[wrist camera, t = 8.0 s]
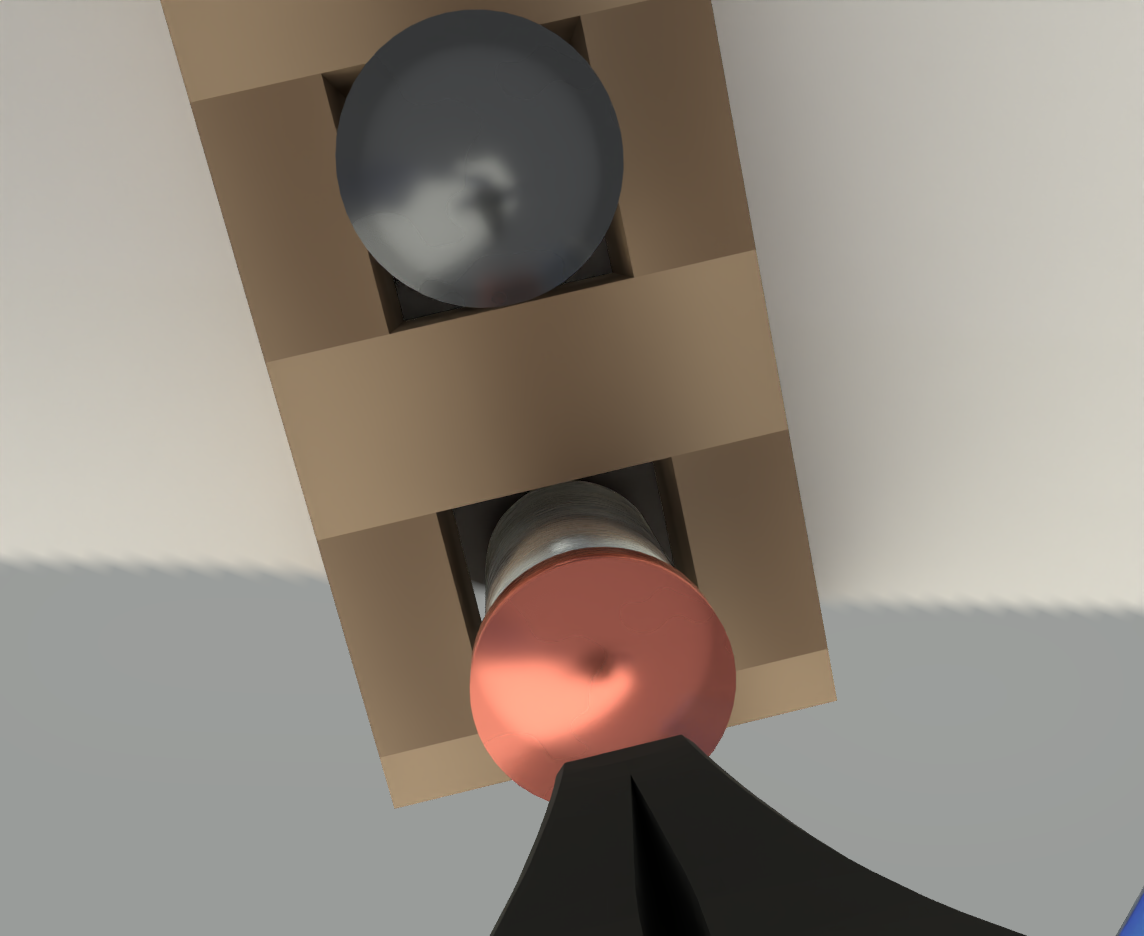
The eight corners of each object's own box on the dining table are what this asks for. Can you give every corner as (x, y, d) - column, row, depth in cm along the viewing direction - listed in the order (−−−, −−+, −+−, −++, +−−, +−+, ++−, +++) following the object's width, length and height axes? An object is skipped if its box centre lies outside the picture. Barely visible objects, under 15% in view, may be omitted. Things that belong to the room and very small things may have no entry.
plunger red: (500, 674, 20) (505, 837, 14) (453, 495, 19) (440, 595, 14) (684, 630, 20) (757, 775, 15) (646, 449, 19) (709, 532, 14)
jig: (407, 731, 21) (394, 808, 18) (93, -385, 17) (9, -517, 14) (789, 638, 21) (837, 700, 19) (577, -486, 17) (596, -637, 14)
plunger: (409, 309, 19) (377, 336, 13) (357, 105, 18) (300, 44, 13) (603, 264, 19) (649, 273, 14) (559, 59, 18) (590, -20, 13)
